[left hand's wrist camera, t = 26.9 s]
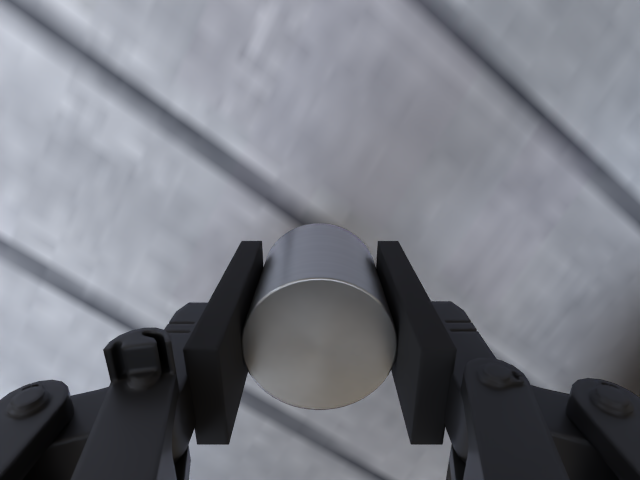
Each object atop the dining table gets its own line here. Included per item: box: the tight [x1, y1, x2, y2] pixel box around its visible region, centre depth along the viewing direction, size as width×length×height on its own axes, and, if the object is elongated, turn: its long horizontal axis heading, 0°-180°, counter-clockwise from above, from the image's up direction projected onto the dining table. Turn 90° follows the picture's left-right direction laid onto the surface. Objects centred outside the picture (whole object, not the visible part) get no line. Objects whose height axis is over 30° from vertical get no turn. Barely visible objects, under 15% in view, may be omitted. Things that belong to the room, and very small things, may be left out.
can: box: [241, 223, 398, 410], centre depth 13 cm, size 4×4×5 cm
